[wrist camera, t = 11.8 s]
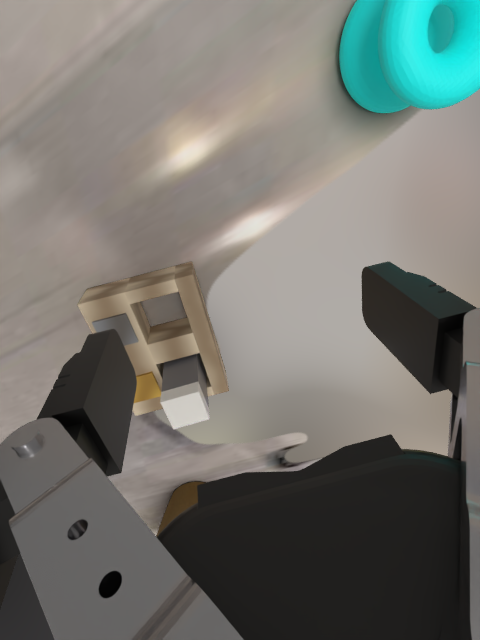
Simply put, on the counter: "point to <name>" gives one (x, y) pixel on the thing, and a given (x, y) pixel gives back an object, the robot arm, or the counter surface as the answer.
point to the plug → (185, 391)
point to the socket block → (156, 329)
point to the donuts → (411, 53)
